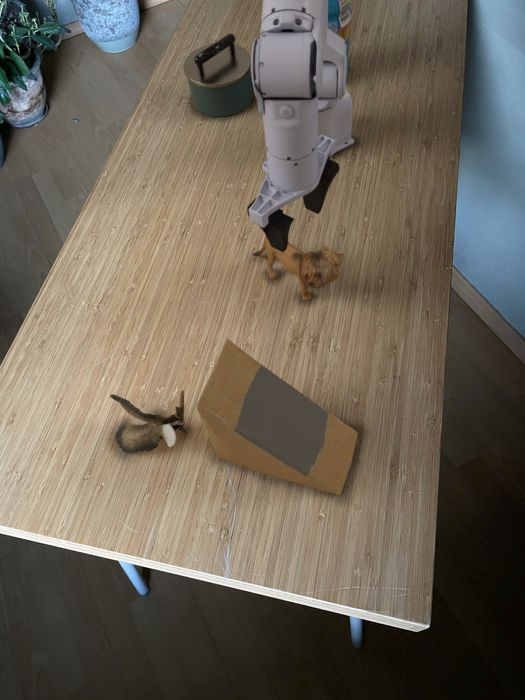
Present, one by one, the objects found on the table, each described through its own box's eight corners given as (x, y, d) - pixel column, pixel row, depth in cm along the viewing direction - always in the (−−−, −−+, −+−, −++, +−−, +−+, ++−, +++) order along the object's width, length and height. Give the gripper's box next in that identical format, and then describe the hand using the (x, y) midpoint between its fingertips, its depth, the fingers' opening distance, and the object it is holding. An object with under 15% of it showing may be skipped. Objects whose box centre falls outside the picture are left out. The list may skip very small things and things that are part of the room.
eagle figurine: (184, 387, 75) (111, 389, 74) (184, 392, 68) (104, 395, 67) (185, 446, 75) (113, 450, 74) (186, 458, 68) (106, 462, 67)
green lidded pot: (268, 92, 105) (263, 40, 97) (221, 127, 101) (212, 75, 93) (223, 68, 110) (215, 16, 101) (177, 100, 106) (165, 49, 98)
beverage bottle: (308, 93, 104) (306, -26, 87) (296, 65, 108) (291, -54, 91) (354, 82, 104) (361, -39, 87) (340, 55, 109) (344, -65, 92)
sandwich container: (341, 498, 67) (345, 451, 54) (217, 459, 71) (194, 407, 58) (360, 431, 71) (368, 372, 58) (242, 398, 75) (225, 335, 62)
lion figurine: (348, 287, 82) (351, 245, 74) (328, 314, 80) (329, 273, 72) (262, 245, 87) (257, 201, 80) (241, 269, 85) (233, 227, 78)
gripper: (300, 93, 68) (303, 182, 80) (221, 168, 63) (237, 251, 75) (351, 114, 66) (347, 202, 77) (274, 194, 61) (282, 276, 72)
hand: (296, 228), depth 76 cm, fingers open, 7 cm apart
